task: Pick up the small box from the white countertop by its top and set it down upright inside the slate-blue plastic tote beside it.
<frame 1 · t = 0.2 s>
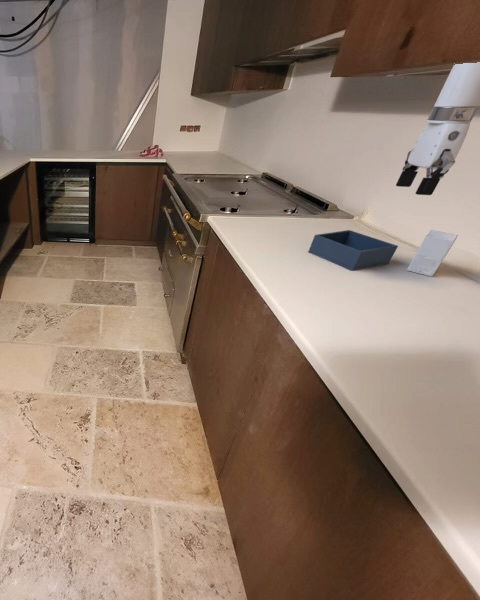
hand: (412, 190, 85), 22 cm above the worktop, tool pointing down, fingers open, 9 cm apart
tote: (346, 257, 100), on the worktop
small box: (420, 270, 93), on the worktop
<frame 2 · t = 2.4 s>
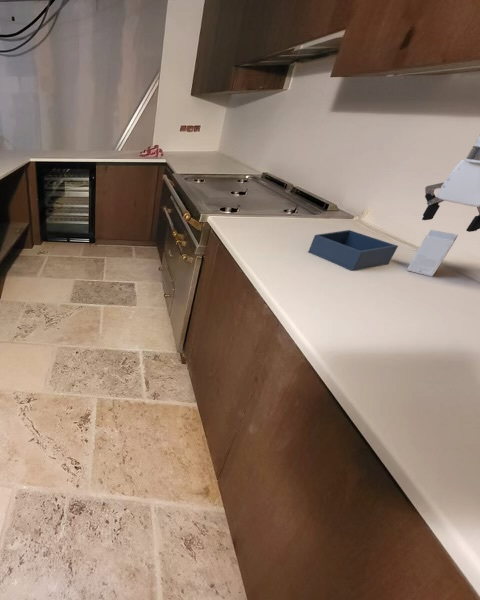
hand: (447, 225, 86), 13 cm above the worktop, tool pointing down, fingers open, 9 cm apart
nothing on the worktop moved.
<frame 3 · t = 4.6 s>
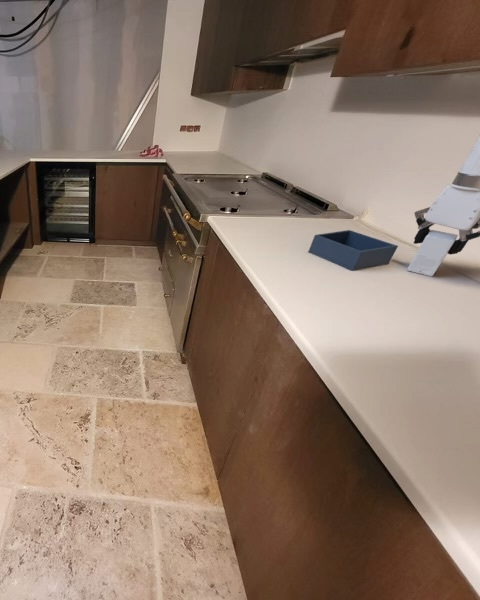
hand: (434, 247, 89), 7 cm above the worktop, tool pointing down, fingers closed on small box, 7 cm apart
small box: (420, 270, 93), on the worktop, touching gripper
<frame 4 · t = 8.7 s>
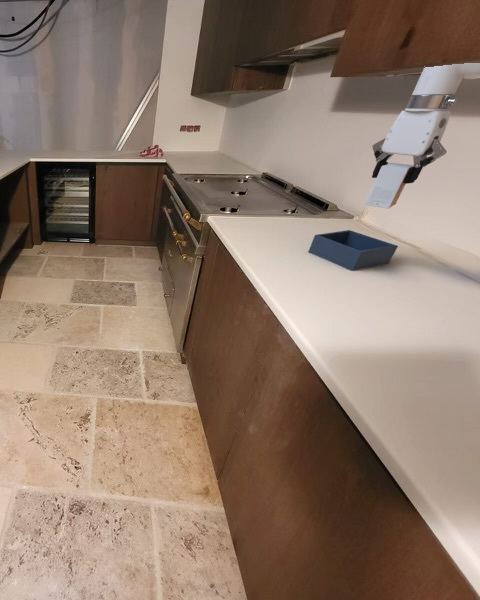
hand: (391, 179, 87), 24 cm above the worktop, tool pointing down, fingers closed on small box, 7 cm apart
small box: (379, 205, 91), point 16 cm above the worktop, touching gripper
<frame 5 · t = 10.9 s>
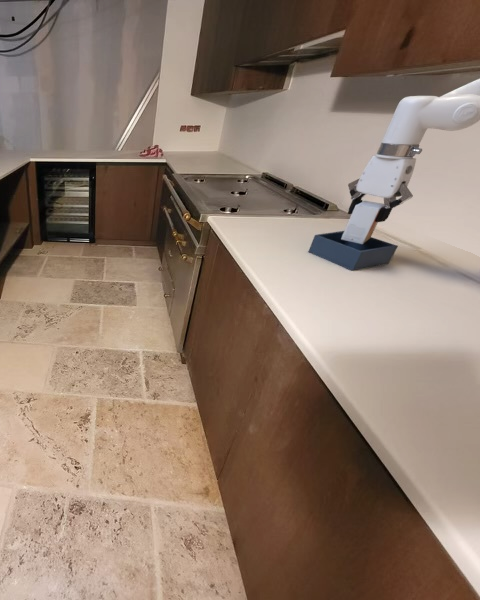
hand: (365, 217, 94), 13 cm above the worktop, tool pointing down, fingers closed on small box, 7 cm apart
small box: (355, 239, 97), point 6 cm above the worktop, touching gripper
when the fingers open (8 cm above the worktop, at t = 12.8 s): small box stays where it is, resting on tote.
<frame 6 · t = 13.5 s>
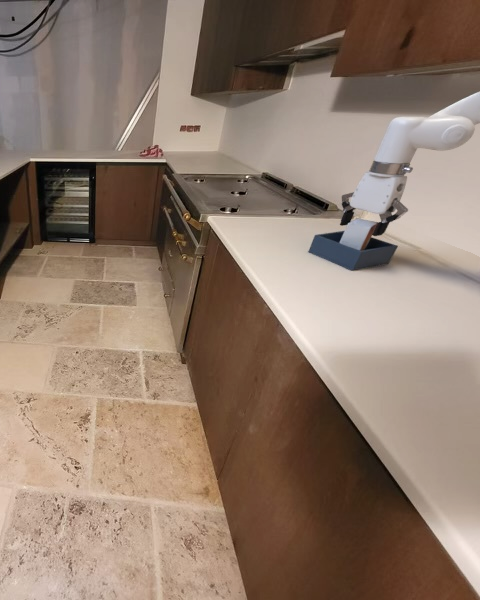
hand: (359, 229, 96), 9 cm above the worktop, tool pointing down, fingers open, 9 cm apart
small box: (348, 255, 100), point 1 cm above the worktop, touching tote
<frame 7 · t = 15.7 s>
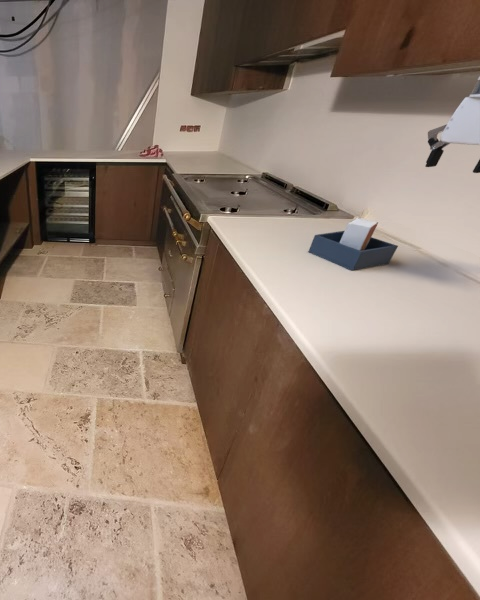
hand: (453, 169, 81), 27 cm above the worktop, tool pointing down, fingers open, 9 cm apart
nothing on the worktop moved.
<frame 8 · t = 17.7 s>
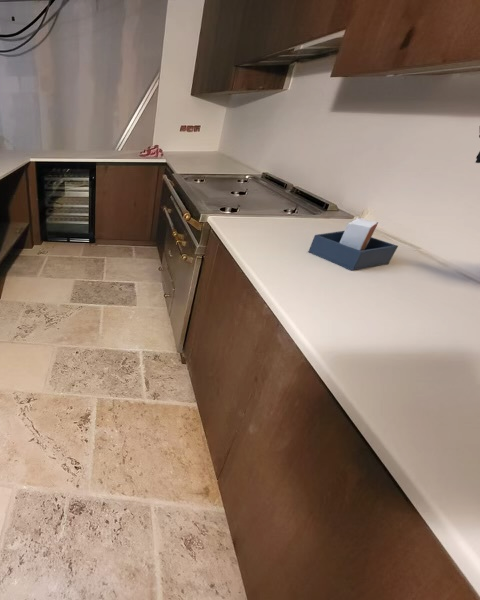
nothing on the worktop moved.
at the end: small box inside the target area in the tote (0.1 cm from its centre), point 0.6 cm above the tote's base; small box tilted 0°; the gripper is holding nothing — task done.
